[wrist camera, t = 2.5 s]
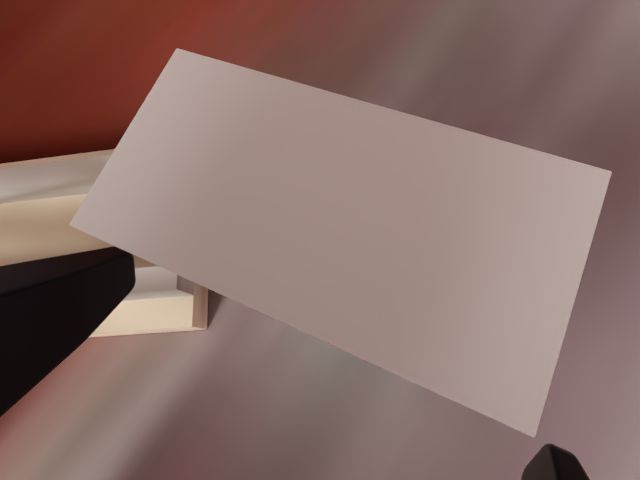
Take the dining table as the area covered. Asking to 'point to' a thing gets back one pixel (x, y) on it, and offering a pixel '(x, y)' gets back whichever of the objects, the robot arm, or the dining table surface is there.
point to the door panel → (358, 227)
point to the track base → (87, 242)
